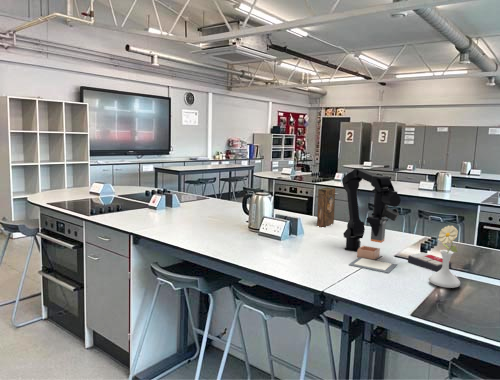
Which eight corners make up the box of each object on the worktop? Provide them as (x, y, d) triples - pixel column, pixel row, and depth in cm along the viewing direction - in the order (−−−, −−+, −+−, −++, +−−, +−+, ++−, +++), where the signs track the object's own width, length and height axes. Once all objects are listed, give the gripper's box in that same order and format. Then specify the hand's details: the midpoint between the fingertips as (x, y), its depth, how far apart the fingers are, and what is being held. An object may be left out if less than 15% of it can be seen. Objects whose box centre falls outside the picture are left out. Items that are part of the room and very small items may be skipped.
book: (323, 227, 251) (325, 190, 248) (316, 226, 254) (317, 189, 251) (333, 223, 264) (335, 188, 261) (326, 222, 267) (327, 187, 264)
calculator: (437, 264, 167) (408, 254, 180) (436, 274, 168) (407, 262, 181) (452, 261, 173) (422, 251, 186) (451, 270, 174) (421, 259, 186)
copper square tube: (357, 257, 188) (357, 249, 187) (362, 253, 194) (363, 245, 194) (374, 260, 183) (374, 252, 182) (379, 256, 190) (379, 248, 189)
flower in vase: (424, 279, 158) (428, 220, 155) (452, 280, 157) (457, 221, 154) (436, 291, 145) (441, 227, 142) (467, 293, 144) (473, 228, 141)
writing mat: (348, 265, 175) (348, 263, 175) (358, 257, 186) (359, 256, 186) (388, 273, 165) (388, 271, 165) (397, 265, 176) (397, 263, 176)
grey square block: (370, 240, 181) (372, 220, 179) (373, 238, 185) (375, 218, 184) (381, 242, 178) (382, 222, 177) (384, 240, 182) (385, 220, 181)
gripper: (392, 207, 167) (389, 242, 169) (403, 202, 182) (400, 233, 184) (367, 204, 173) (364, 237, 175) (379, 199, 188) (377, 230, 191)
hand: (377, 234), depth 181 cm, fingers closed on grey square block, 5 cm apart
